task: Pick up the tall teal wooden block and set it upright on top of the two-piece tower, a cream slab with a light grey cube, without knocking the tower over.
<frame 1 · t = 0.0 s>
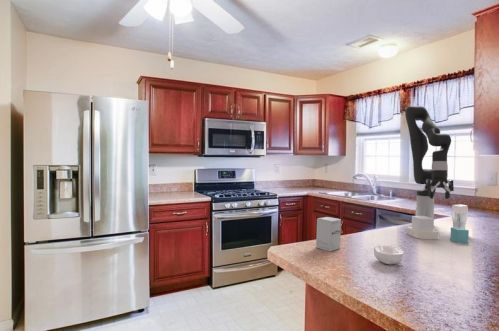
hand: (439, 198, 165), 17 cm above the countertop, tool pointing down, fingers open, 8 cm apart
teal block: (459, 241, 140), on the countertop
grey cube: (422, 229, 149), point 4 cm above the countertop, touching cream slab
white bowl: (387, 263, 109), on the countertop
beer glass: (458, 234, 155), on the countertop
cream slab: (421, 237, 149), on the countertop, touching grey cube
supplement box: (328, 248, 125), on the countertop
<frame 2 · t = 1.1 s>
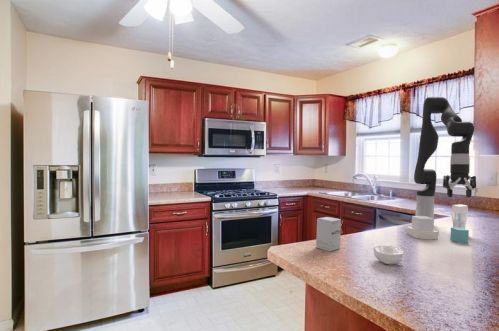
hand: (459, 197, 142), 21 cm above the countertop, tool pointing down, fingers open, 8 cm apart
nothing on the countertop moved.
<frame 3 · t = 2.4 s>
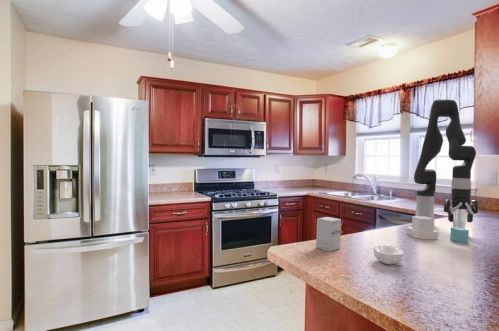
hand: (460, 221, 140), 9 cm above the countertop, tool pointing down, fingers open, 8 cm apart
nothing on the countertop moved.
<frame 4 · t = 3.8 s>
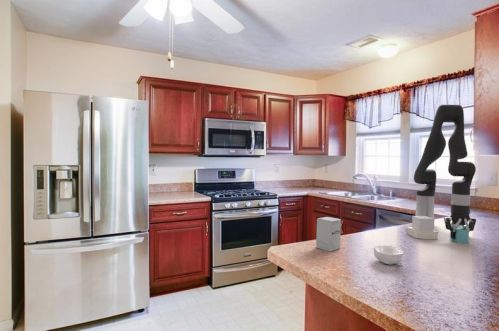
hand: (459, 239, 140), 1 cm above the countertop, tool pointing down, fingers closed on teal block, 5 cm apart
teal block: (459, 241, 140), on the countertop, touching gripper
grey cube: (422, 229, 149), point 4 cm above the countertop
cream slab: (421, 237, 149), on the countertop
everything else where it was.
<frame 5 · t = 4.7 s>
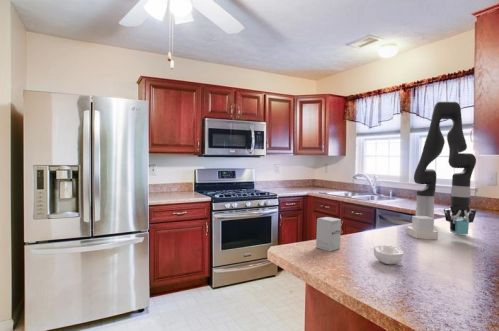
hand: (458, 230, 141), 5 cm above the countertop, tool pointing down, fingers closed on teal block, 5 cm apart
teal block: (458, 232, 141), point 4 cm above the countertop, touching gripper
everything else where it was.
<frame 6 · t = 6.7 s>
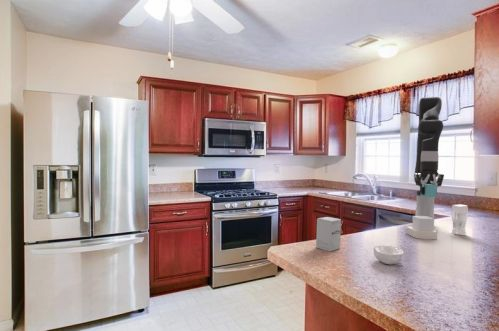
hand: (428, 194, 147), 21 cm above the countertop, tool pointing down, fingers closed on teal block, 5 cm apart
teal block: (428, 196, 147), point 20 cm above the countertop, touching gripper
grey cube: (422, 229, 149), point 4 cm above the countertop, touching cream slab
cream slab: (421, 236, 149), on the countertop, touching grey cube
everything else where it was.
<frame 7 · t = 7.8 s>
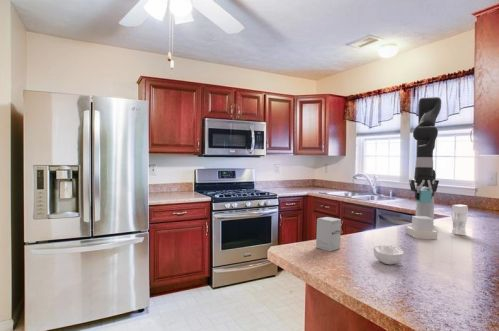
hand: (423, 200, 148), 18 cm above the countertop, tool pointing down, fingers closed on teal block, 5 cm apart
teal block: (423, 202, 148), point 17 cm above the countertop, touching gripper
everything else where it was.
when the fingers open (12 cm above the countertop, at t = 9.5 s): teal block drops 2 cm, resting on grey cube.
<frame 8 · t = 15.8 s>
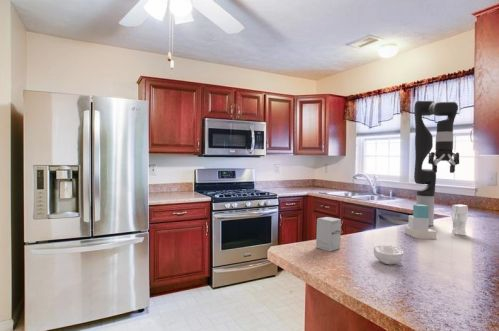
hand: (443, 172, 152), 32 cm above the countertop, tool pointing down, fingers open, 8 cm apart
teal block: (420, 217, 150), point 9 cm above the countertop, touching grey cube
grey cube: (418, 228, 150), point 3 cm above the countertop, touching cream slab, teal block
everything else where it was.
at the end: teal block 0.8 cm off-centre on the grey cube, point 6.0 cm above the grey cube's base; grey cube 1.0 cm off-centre on the cream slab, point 4.0 cm above the cream slab's base; teal block tilted 0° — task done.
